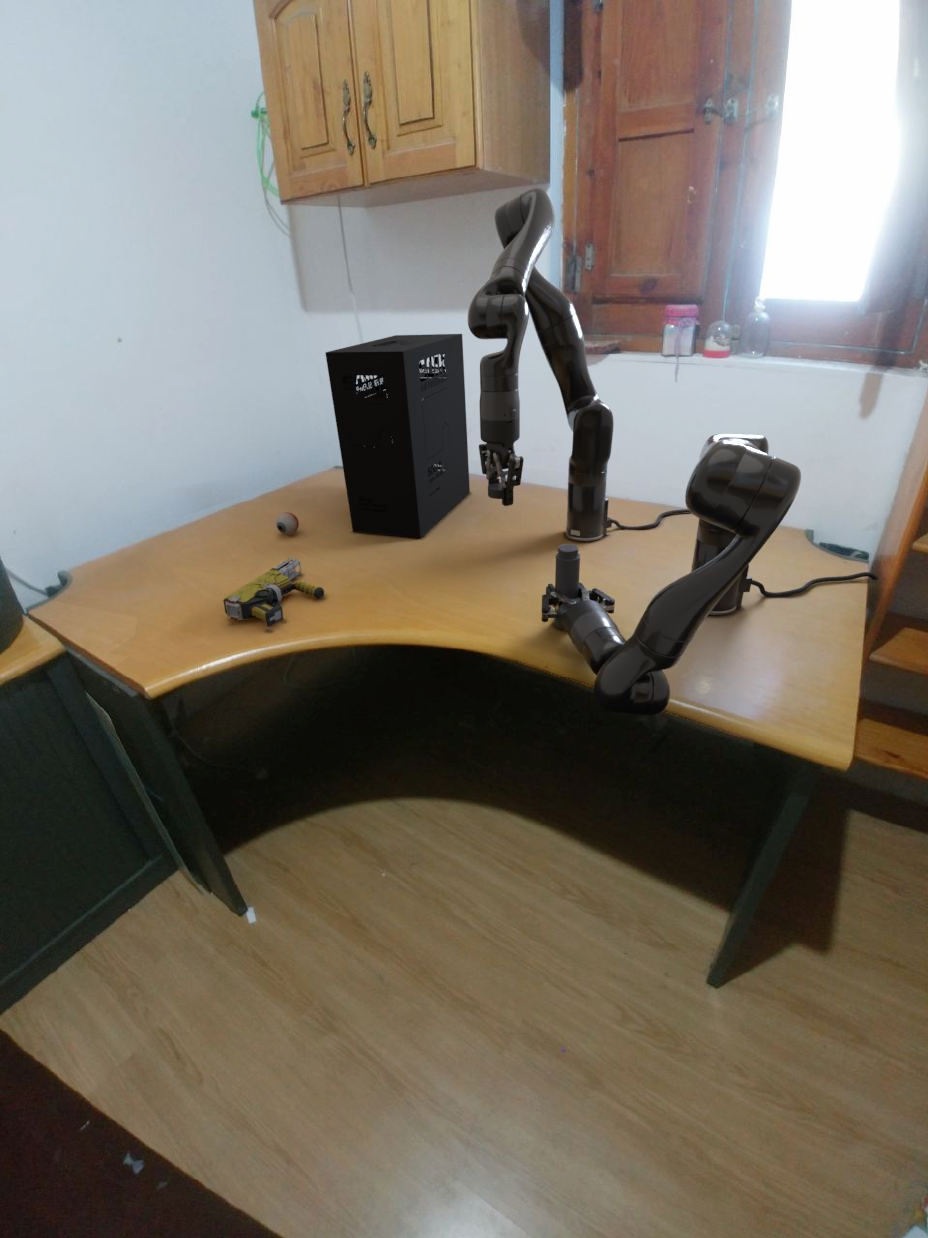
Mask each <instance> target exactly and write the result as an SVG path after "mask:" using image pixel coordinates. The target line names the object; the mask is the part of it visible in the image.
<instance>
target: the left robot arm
mask: <svg viewBox="0 0 928 1238" xmlns="http://www.w3.org/2000/svg"><path fill="white" fill-rule="evenodd" d="M493 216H494V219H493V220H494V226H495V231H496V234H497V237H498V240H499V242H500V245H501V247H502V249H503V250H502V251H501V253H500V254H499V255H498V258H497V259H496V260H495V263H494V265H493V267H492V271H491V273H490V277H489V279H488V280H487V281H486V282H485V283H484V284H483V286H481V287H480V289H479V290H478V291H477V292H476V293H475V295H474V296H473V298H472V300H471V302H470V304H469V307H468V311H467V325H468V329H469V331H470V333H471V334H472V335H473V337H475V338H476V339H478V340H506V344H505V347H504V348H503V349H502V350H500V351H496V352H492V353H488V354H485V355H484V356H482V357H481V359H480V361H479V383H480V386H479V387H480V388H479V389H480V393H479V394H480V395H479V430H480V431H479V432H480V433H479V434H480V437H479V438H480V440H481V441H482V442H483V443H480V444H478V451H479V460H480V466H481V467H480V468H481V473H482V475H485V477H486V480H488V481H487V484H488V485H487V487H488V486H489V485H490V484H493V483H501V482H502V499H501V505H502V506H503V507H509V506H512V505H513V504H514V489H515V487H517V486H521V481H522V475H523V467H524V457H523V456H517V455H516V450H515V443H516V442H517V441H518V440H519V439H520V437H521V436H520V435H521V434H520V433H521V432H520V431H521V430H520V428H521V425H520V421H521V420H520V419H521V415H520V414H521V401H520V392H519V391H520V390H519V367H520V365H519V364H520V356H521V351H522V346H523V341H524V338H525V335H526V331H527V329H528V328H527V327H528V323H529V320H530V319H529V318H531V322H532V325H533V327H534V330H535V333H536V336H537V339H538V341H539V344H540V347H541V349H542V352H543V354H544V356H545V359H546V361H547V363H548V367H549V368H550V371H551V372H552V375H553V377H554V379H555V380H556V383H557V385H558V389H559V391H560V394H561V395H560V396H561V398H562V403H563V406H564V410H565V414H566V419H567V423H568V426H569V428H570V430H571V432H572V446H571V454H570V456H569V457H568V468H567V469H568V473H567V501H566V502H567V503H566V527H565V536H566V537H567V538H568V539H570V540H572V541H576V542H583V543H584V542H586V543H587V542H594V541H599V540H600V539H602V538H604V536H607V530H608V529H610V528H613V527H612V526H613V524H614V525H615V526H616V527H617V528H619V529H622V530H629V531H631V530H635V531H637V530H638V531H639V530H646V529H650V528H655V527H656V526H659V524H660V523H661V522H662V518H663V517H665V516H669V515H673V514H683V513H691V512H690V511H689V510H688V509H687V508H685V509H683V508H682V509H673V510H667V511H664V512H662V513H660V514H659V515H658V517H657V519H656V521H655V522H653V523H650V524H645V525H639V526H638V525H637V526H627V525H623V524H621V523H620V522H619V521H618V520H616V519H613V518H612V517H609V516H608V514H609V498H607V497H606V493H607V477H608V465H609V460H610V459H611V456H612V455H611V454H612V446H613V439H614V438H613V436H614V424H615V423H614V414H613V412H612V409H611V408H610V406H608V405H607V404H606V403H604V402H603V401H602V400H601V398H600V396H599V395H598V392H597V391H596V388H595V385H594V383H593V381H592V378H591V375H590V371H589V368H588V363H587V352H586V343H585V337H584V332H583V329H582V325H581V322H580V320H579V317H578V313H577V311H576V308H575V305H574V303H573V302H572V300H571V299H570V298H569V297H568V296H567V295H566V294H564V292H563V291H561V290H560V289H559V288H557V287H556V286H555V285H553V284H552V283H551V282H550V281H548V280H547V279H546V278H545V277H544V276H543V275H542V274H541V273H540V272H539V270H538V269H537V267H536V264H537V262H538V260H539V258H540V257H541V255H542V253H543V251H544V249H545V248H546V246H547V244H548V242H549V241H550V239H551V237H552V236H553V234H554V231H555V226H556V215H555V210H554V206H553V203H552V201H551V198H550V196H549V195H548V193H547V192H546V190H544V189H542V187H532V188H529V189H527V190H525V191H524V192H521V193H520V194H518V195H516V196H514V197H513V198H511V199H510V200H507V201H505V202H504V203H503V204H501V205H499V206H497V208H496V209H495V211H494V215H493Z"/></svg>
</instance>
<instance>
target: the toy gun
mask: <svg viewBox="0 0 928 1238" xmlns="http://www.w3.org/2000/svg"><path fill="white" fill-rule="evenodd" d="M301 565H302V564H301V561H300V560H299V559H297V558H296V559H293V558H292V557H289V558H287V559H286V560H285V561H283V562H282V563H280V564H278V565H276V567H271V568H270V569H269V570H267V571H265V572H264V573H263V574H260V575H259V576H258V577H256V578H254V579H253V580H251V581H249V582H248V583H246V584H245V585H243V586H242V587H240V588H238V589H237V590H235V591H234V592H232V593H231V594H229V595H227V596H226V597H224V598H223V601H222V602H223V607H224V613H225V615H226V616H227V617H229V618H230V620H232V621H233V620H234V621H235V622H236V621H239V620H242V621H246V620H251V619H255V618H258V619H261V620H263V621H264V622H265V624H266V627H267V628H270V627H272V626H274V625H276V624H277V623H279V622H281V621H283V620H284V613H283V606H282V605H281V602H282V599H283V596H286V595H287V594H289V593H291V592H292V591H297V592H299V593H302V594H305V595H309V596H310V597H313V598H315V599H316V600H319V599H322V598H323V597H324V596H325V590H324V588H323V587H321V586H320V587H319V586H316V585H315V584H310V583H308V582H306V581H302V580H300V579H299V580H296V581H295V582H292V581H291V580H293V579H295V578H296V577H297V576H299V575H301V574H302V567H301ZM297 567H299V570H298V571H297V570H296V568H297Z"/></svg>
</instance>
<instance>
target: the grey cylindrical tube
mask: <svg viewBox="0 0 928 1238" xmlns="http://www.w3.org/2000/svg"><path fill="white" fill-rule="evenodd" d="M557 551H558V552H557V553H556V554H555V575H554V578H555V579H554V587H555V589H556V590H557V593H558V594H560V595H565V596H566V597H568V598H569V599H577V598H578V591H579V583H580V569H581V568H580V566H581V555H580V553H579V547H578V546H577V545H576V544H573V543H564V544H560V545H559V546H558V548H557ZM554 611H556V609H555V608H554ZM553 619H554V620H553V625H554V627H556V628H557V629H559V630H563V631H566V630H565V628H564V626H563V624H562V623H561V622H559V621H558V620H557V618H553Z"/></svg>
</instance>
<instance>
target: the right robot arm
mask: <svg viewBox="0 0 928 1238" xmlns="http://www.w3.org/2000/svg"><path fill="white" fill-rule="evenodd" d="M769 448H770V446H769V441H768V439H767V437H766V436H764V435H760V434H741V433H740V434H739V433H716V434H713V435H710V436H709V437H708V438H707V439H706V440H705V441H704V444H703V446H702V448H701V451H700V455H699V460H698V462H697V463H696V465H695V466H694V469H693V470H692V472H691V474H690V476H689V479H688V482H687V485H686V489H685V495H684V500H685V502H684V503H685V506H686V509H688V510H689V511H690V512H689V513H690V514H692V515H693V516H695V517H696V518H698V522H697V523H698V524H697V530H696V537H695V543H694V550H693V557H692V563H691V569H690V572H689V573H687V574H685V575H684V576H681V577H679V578H678V579H676V580H674V581H673V582H671V583H669V584H667V585H666V586H665V587H663V588H662V589H661V590H659V591H658V592H657V593H656V594H655V595H654V597H652V599H651V600H650V602H649V604H648V605H647V607H646V608H645V610H644V612H643V614H642V616H641V617H640V619H639V621H638V623H637V625H636V627H635V629H634V631H633V632H632V635H631V636H630V637H628V638H627V639H625V637H624V636H623V634H622V633H621V632H620V628H619V627H618V625H617V624H616V622H615V621H614V620H613V619H612V617H611V616H610V614H611V615H612V614H614V613H615V606H616V600H615V598H613V597H612V596H610V595H608V594H607V593H605V592H604V591H602V590H601V589H599V588H597V587H594V588H592V589H591V590H590V589H589V588H587V587H585V585H584V584H583V583H582V582H579V591H578V598H577V599H569V598H568V597H566V596H565V595H560V594H558V593H557V590H556V589H555V585H554V584H553V583H547V586H545V593H544V594H542V595H541V622H543V623H548V622H549V619H554V618H557V620H558V621H559V622H561V623H562V624H563V626H564V628H565V630H564V631H565V633H566V634H567V636H568V637H569V639H570V641H571V643H572V644H573V645H574V647H575V648H576V650H577V652H578V653H579V654H580V655H581V656H582V657H583V658H584V660H585V662H586V663H587V665H588V667H589V669H590V670H591V671H592V672H593V674H594V675H595V676H596V677H595V680H594V683H593V694H594V698H595V700H596V703H597V704H598V705H599V706H600V707H601V708H602V709H603V710H605V711H606V712H607V711H608V712H612V713H616V714H617V713H618V714H630V715H637V716H638V715H640V716H654V715H657V714H660V713H662V712H663V711H664V710H665V709H666V707H667V706H668V705H669V702H670V699H671V687H670V682H669V680H668V678H667V675H666V674H665V673H664V672H663V671H664V670H669V669H671V668H673V667H675V666H676V665H677V664H678V663H679V661H680V660H681V659H682V657H683V655H684V654H685V652H686V650H687V649H688V647H689V646H690V644H691V642H692V641H693V639H694V637H695V636H696V634H697V633H698V630H699V629H700V627H701V626H702V624H703V623H704V621H705V620H706V619H707V617H708V616H727V615H730V614H733V613H734V612H736V610H739V609H742V602H743V598H744V593H750V591H751V587H752V586H755V587H757V588H758V589H759V592H760V594H761V595H763V596H765V597H769V598H779V597H781V598H782V597H789V596H793V595H797V594H801V593H803V592H806V590H808V589H810V587H812V586H813V585H816V584H820V583H828V582H829V583H830V582H843V581H851V580H856V579H859V578H864V577H867V578H870V579H872V580H874V581H878V580H879V578H878V576H877V575H876V574H875V573H874V572H870V571H863V572H858V573H857V572H856V573H854V574H849V575H841V576H825V577H819V578H814V579H811V580H809V581H808V582H807V583H805V584H804V585H803V586H801V587H798V588H794V589H790V590H786V591H777V592H771V591H767V590H766V589H765V586H764V584H763V583H762V582H760V581H758V580H755V579H753V577H751V576H750V575H748V574H749V569H750V563H751V562H752V561H753V559H754V558H755V557H756V555H758V553H759V552H760V551H761V549H762V548H763V547H764V546H765V544H766V543H767V542H768V541H769V539H770V538H771V537H772V535H773V534H774V533H775V532H776V530H777V529H778V527H779V526H780V525H781V523H782V522H783V520H784V519H785V517H786V515H787V514H788V513H789V510H790V508H791V506H792V505H793V503H794V502H795V499H796V497H797V494H798V492H799V489H800V486H801V481H802V472H801V469H800V468H799V467H798V466H797V465H796V464H794V463H791V462H790V461H787V460H784V459H782V458H779V457H777V456H774V455H772V454H769V451H770V449H769ZM553 608H554V609H553ZM555 609H556V611H555Z"/></svg>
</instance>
